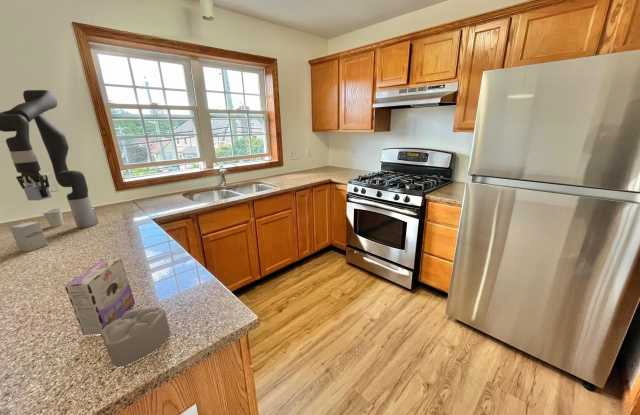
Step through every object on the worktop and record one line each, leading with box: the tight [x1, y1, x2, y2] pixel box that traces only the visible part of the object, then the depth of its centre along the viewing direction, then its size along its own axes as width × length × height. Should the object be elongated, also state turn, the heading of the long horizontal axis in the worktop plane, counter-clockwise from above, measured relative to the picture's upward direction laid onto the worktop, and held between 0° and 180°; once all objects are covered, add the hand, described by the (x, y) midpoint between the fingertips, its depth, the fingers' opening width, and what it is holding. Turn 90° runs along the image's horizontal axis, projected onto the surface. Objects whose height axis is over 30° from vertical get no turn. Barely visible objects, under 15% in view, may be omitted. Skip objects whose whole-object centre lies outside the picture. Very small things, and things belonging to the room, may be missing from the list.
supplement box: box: [9, 221, 48, 252], centre depth 128 cm, size 7×7×13 cm
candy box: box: [64, 257, 136, 336], centre depth 75 cm, size 14×6×16 cm, turn 5°
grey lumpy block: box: [100, 306, 171, 367], centre depth 66 cm, size 10×13×9 cm
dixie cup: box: [42, 208, 65, 229], centre depth 159 cm, size 8×8×10 cm
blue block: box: [23, 185, 52, 201], centre depth 123 cm, size 6×6×6 cm
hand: (39, 197), depth 123 cm, fingers closed on blue block, 5 cm apart
